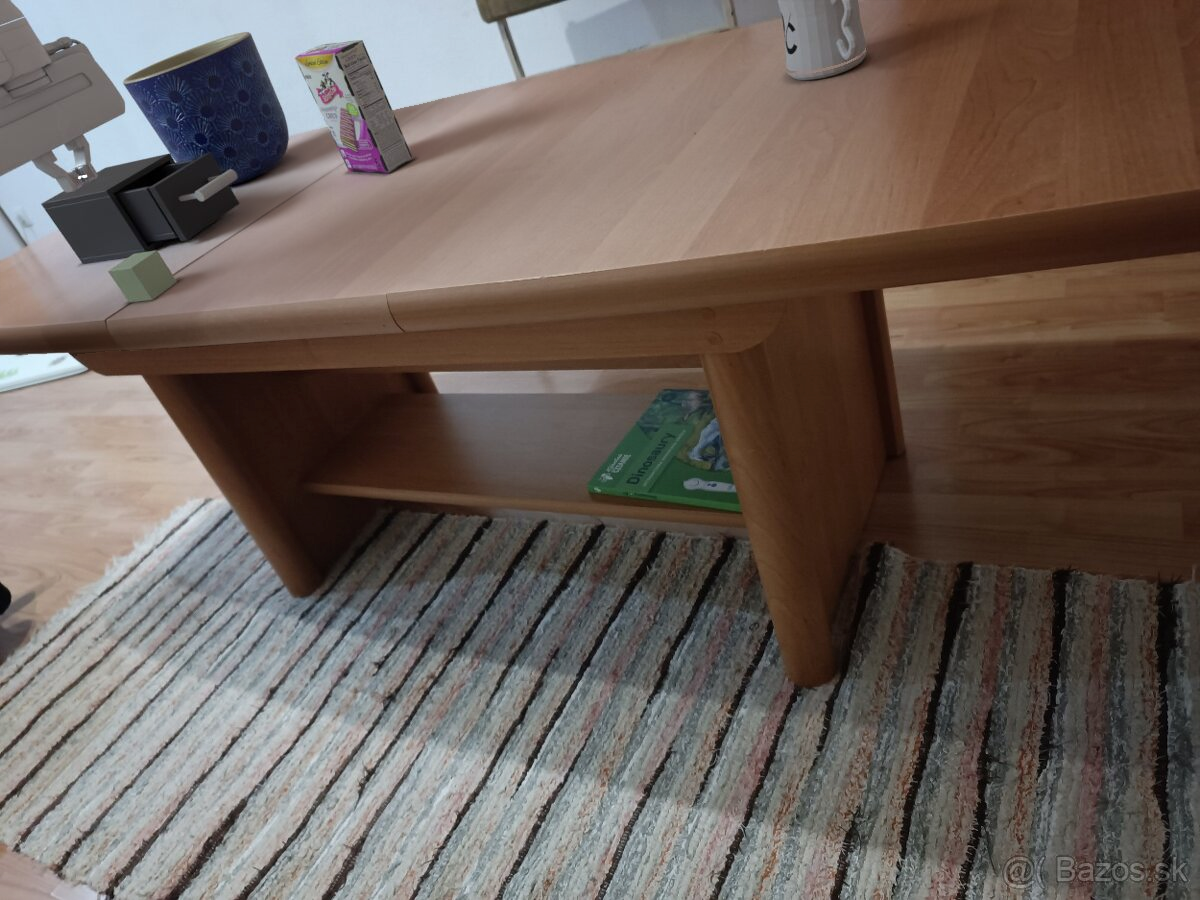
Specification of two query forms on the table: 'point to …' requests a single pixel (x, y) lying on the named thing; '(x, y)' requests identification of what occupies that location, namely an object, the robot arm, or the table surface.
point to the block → (142, 276)
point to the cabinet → (103, 214)
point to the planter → (215, 106)
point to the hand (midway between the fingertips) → (82, 185)
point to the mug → (821, 36)
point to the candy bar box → (354, 106)
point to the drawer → (178, 198)
